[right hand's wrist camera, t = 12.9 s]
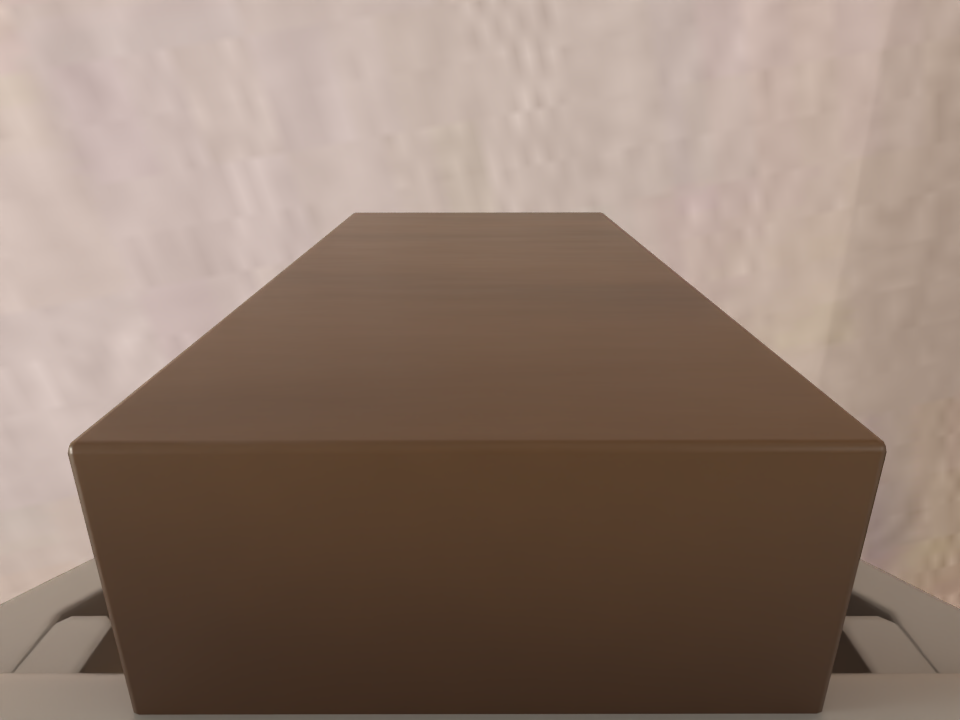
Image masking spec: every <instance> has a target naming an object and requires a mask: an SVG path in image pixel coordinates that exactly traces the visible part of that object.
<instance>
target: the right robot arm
mask: <svg viewBox="0 0 960 720" xmlns="http://www.w3.org/2000/svg"><path fill="white" fill-rule="evenodd" d="M0 720H960V609H958V608H956V607H954V606H952V605H950V604H948V603H946V602H944V601H942V600H940V599H938V598H936V597H934V596H933V595H931V594H929V593H927V592H925V591H923V590H921V589H919V588H917V587H915V586H913V585H911V584H909V583H907V582H905V581H903V580H901V579H899V578H897V577H895V576H893V575H891V574H889V573H887V572H885V571H883V570H881V569H879V568H877V567H875V566H873V565H871V564H869V563H867V562H865V561H863V560H861V559H860V560H859V565H858V569H857V573H856V577H855V581H854V585H853V589H852V593H851V597H850V601H849V605H848V609H847V613H846V617H845V621H844V625H843V629H842V633H841V637H840V641H839V645H838V649H837V653H836V657H835V661H834V665H833V669H832V673H831V677H830V681H829V685H828V689H827V693H826V697H825V701H824V705H823V709H822V712H820V713H817V714H273V715H138V714H136V713H134V712H133V708H132V704H131V700H130V696H129V692H128V688H127V684H126V680H125V676H124V672H123V668H122V664H121V660H120V656H119V653H118V649H117V645H116V641H115V637H114V633H113V629H112V625H111V621H110V617H109V613H108V609H107V605H106V601H105V598H104V594H103V590H102V586H101V582H100V578H99V574H98V570H97V566H96V562H95V558H93V559H91V560H89V561H87V562H85V563H83V564H81V565H79V566H77V567H75V568H73V569H71V570H69V571H67V572H65V573H63V574H61V575H59V576H57V577H55V578H53V579H51V580H49V581H47V582H45V583H43V584H41V585H39V586H37V587H35V588H33V589H31V590H29V591H27V592H25V593H23V594H21V595H19V596H17V597H15V598H13V599H11V600H9V601H7V602H5V603H3V604H1V605H0Z"/></svg>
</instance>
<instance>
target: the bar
mask: <svg viewBox="0 0 960 720" xmlns="http://www.w3.org/2000/svg"><path fill="white" fill-rule="evenodd" d="M68 456H69V460H70V464H71V468H72V472H73V476H74V480H75V483H76V487H77V491H78V495H79V499H80V503H81V507H82V511H83V515H84V519H85V523H86V527H87V531H88V535H89V539H90V542H91V546H92V550H93V554H94V558H95V562H96V566H97V570H98V574H99V578H100V582H101V586H102V590H103V594H104V598H105V601H106V605H107V609H108V613H109V617H110V621H111V625H112V629H113V633H114V637H115V641H116V645H117V649H118V653H119V656H120V660H121V664H122V668H123V672H124V676H125V680H126V684H127V688H128V692H129V696H130V700H131V704H132V708H133V712H134V713H136V714H138V715H273V714H817V713H820V712H822V709H823V705H824V701H825V697H826V693H827V689H828V685H829V681H830V677H831V673H832V669H833V665H834V661H835V657H836V653H837V649H838V645H839V641H840V637H841V633H842V629H843V625H844V621H845V617H846V613H847V609H848V605H849V601H850V597H851V593H852V589H853V585H854V581H855V577H856V573H857V569H858V565H859V560H860V556H861V552H862V548H863V544H864V540H865V536H866V532H867V528H868V524H869V520H870V516H871V512H872V508H873V504H874V500H875V496H876V492H877V488H878V484H879V480H880V476H881V472H882V468H883V464H884V460H885V456H886V446H885V444H884V442H883V441H882V440H881V439H880V438H879V437H877V436H876V435H875V434H874V433H872V432H871V431H870V430H869V429H867V428H866V427H865V426H864V425H863V424H861V423H860V422H859V421H858V420H856V419H855V418H854V417H853V416H851V415H850V414H849V413H848V412H847V411H845V410H844V409H843V408H842V407H840V406H839V405H838V404H837V403H836V402H834V401H833V400H832V399H831V398H829V397H828V396H827V395H826V394H824V393H823V392H822V391H821V390H820V389H818V388H817V387H816V386H815V385H813V384H812V383H811V382H810V381H808V380H807V379H806V378H805V377H804V376H802V375H801V374H800V373H799V372H797V371H796V370H795V369H794V368H792V367H791V366H790V365H789V364H788V363H786V362H785V361H784V360H783V359H781V358H780V357H779V356H778V355H776V354H775V353H774V352H773V351H772V350H770V349H769V348H768V347H767V346H765V345H764V344H763V343H762V342H760V341H759V340H758V339H757V338H756V337H754V336H753V335H752V334H751V333H749V332H748V331H747V330H746V329H744V328H743V327H742V326H741V325H740V324H738V323H737V322H736V321H735V320H733V319H732V318H731V317H730V316H728V315H727V314H726V313H725V312H724V311H722V310H721V309H720V308H719V307H717V306H716V305H715V304H714V303H712V302H711V301H710V300H709V299H708V298H706V297H705V296H704V295H703V294H701V293H700V292H699V291H698V290H697V289H695V288H694V287H693V286H692V285H690V284H689V283H688V282H687V281H685V280H684V279H683V278H682V277H681V276H679V275H678V274H677V273H676V272H674V271H673V270H672V269H671V268H669V267H668V266H667V265H666V264H665V263H663V262H662V261H661V260H660V259H658V258H657V257H656V256H655V255H653V254H652V253H651V252H650V251H649V250H647V249H646V248H645V247H644V246H642V245H641V244H640V243H639V242H637V241H636V240H635V239H634V238H633V237H631V236H630V235H629V234H628V233H626V232H625V231H624V230H623V229H621V228H620V227H619V226H618V225H617V224H615V223H614V222H613V221H612V220H610V219H609V218H608V217H607V216H605V215H604V214H603V213H354V214H352V215H351V216H350V217H349V218H347V219H346V220H345V221H344V222H343V223H341V224H340V225H339V226H338V227H336V228H335V229H334V230H333V231H331V232H330V233H329V234H328V235H327V236H325V237H324V238H323V239H322V240H320V241H319V242H318V243H317V244H315V245H314V246H313V247H312V248H311V249H309V250H308V251H307V252H306V253H304V254H303V255H302V256H301V257H299V258H298V259H297V260H296V261H294V262H293V263H292V264H291V265H290V266H288V267H287V268H286V269H285V270H283V271H282V272H281V273H280V274H278V275H277V276H276V277H275V278H274V279H272V280H271V281H270V282H269V283H267V284H266V285H265V286H264V287H262V288H261V289H260V290H259V291H258V292H256V293H255V294H254V295H253V296H251V297H250V298H249V299H248V300H246V301H245V302H244V303H243V304H241V305H240V306H239V307H238V308H237V309H235V310H234V311H233V312H232V313H230V314H229V315H228V316H227V317H225V318H224V319H223V320H222V321H221V322H219V323H218V324H217V325H216V326H214V327H213V328H212V329H211V330H209V331H208V332H207V333H206V334H205V335H203V336H202V337H201V338H200V339H198V340H197V341H196V342H195V343H193V344H192V345H191V346H190V347H188V348H187V349H186V350H185V351H184V352H182V353H181V354H180V355H179V356H177V357H176V358H175V359H174V360H172V361H171V362H170V363H169V364H168V365H166V366H165V367H164V368H163V369H161V370H160V371H159V372H158V373H156V374H155V375H154V376H153V377H152V378H150V379H149V380H148V381H147V382H145V383H144V384H143V385H142V386H140V387H139V388H138V389H137V390H136V391H134V392H133V393H132V394H131V395H129V396H128V397H127V398H126V399H124V400H123V401H122V402H121V403H119V404H118V405H117V406H116V407H115V408H113V409H112V410H111V411H110V412H108V413H107V414H106V415H105V416H103V417H102V418H101V419H100V420H99V421H97V422H96V423H95V424H94V425H92V426H91V427H90V428H89V429H87V430H86V431H85V432H84V433H83V434H81V435H80V436H79V437H78V438H76V439H75V440H74V441H73V442H71V444H70V446H69V450H68Z"/></svg>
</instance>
